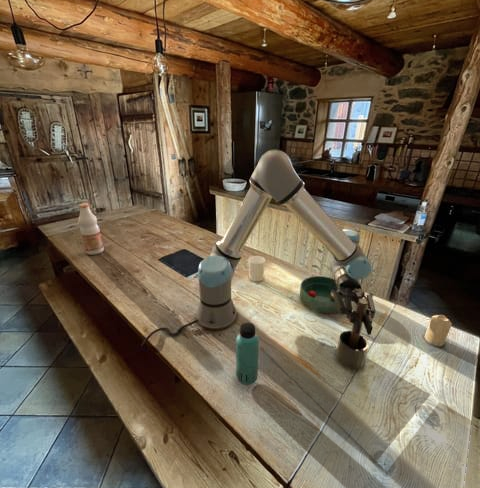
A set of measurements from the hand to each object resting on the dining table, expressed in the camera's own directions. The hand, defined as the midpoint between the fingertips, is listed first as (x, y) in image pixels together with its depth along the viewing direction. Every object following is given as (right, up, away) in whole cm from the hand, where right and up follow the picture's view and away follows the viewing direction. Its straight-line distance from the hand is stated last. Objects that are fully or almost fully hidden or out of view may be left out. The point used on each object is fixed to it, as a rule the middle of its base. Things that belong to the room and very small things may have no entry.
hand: (364, 330), depth 72 cm
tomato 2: (+6, +1, +38) cm, 39 cm away
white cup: (-26, +6, +56) cm, 62 cm away
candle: (+33, -10, +19) cm, 40 cm away
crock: (+1, -13, +12) cm, 18 cm away
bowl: (+1, -1, +40) cm, 40 cm away
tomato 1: (-3, +2, +40) cm, 40 cm away
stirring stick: (+1, -13, +12) cm, 17 cm away
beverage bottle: (-32, -16, +5) cm, 36 cm away
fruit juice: (-118, +30, +76) cm, 143 cm away
